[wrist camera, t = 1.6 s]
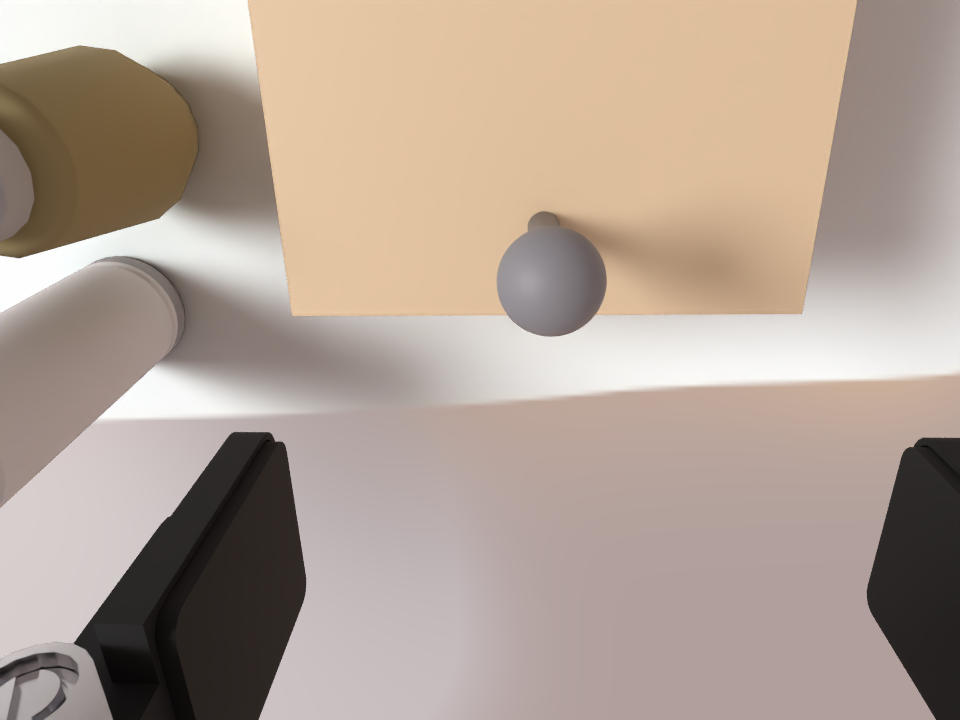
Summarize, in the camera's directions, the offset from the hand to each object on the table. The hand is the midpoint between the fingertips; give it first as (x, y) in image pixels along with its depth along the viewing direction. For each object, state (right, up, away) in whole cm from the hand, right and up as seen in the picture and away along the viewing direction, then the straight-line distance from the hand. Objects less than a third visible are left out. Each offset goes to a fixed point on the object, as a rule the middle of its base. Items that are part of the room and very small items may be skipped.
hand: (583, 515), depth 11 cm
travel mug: (-21, +5, +30) cm, 37 cm away
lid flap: (+1, +12, +14) cm, 19 cm away
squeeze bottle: (-19, +14, +26) cm, 35 cm away
